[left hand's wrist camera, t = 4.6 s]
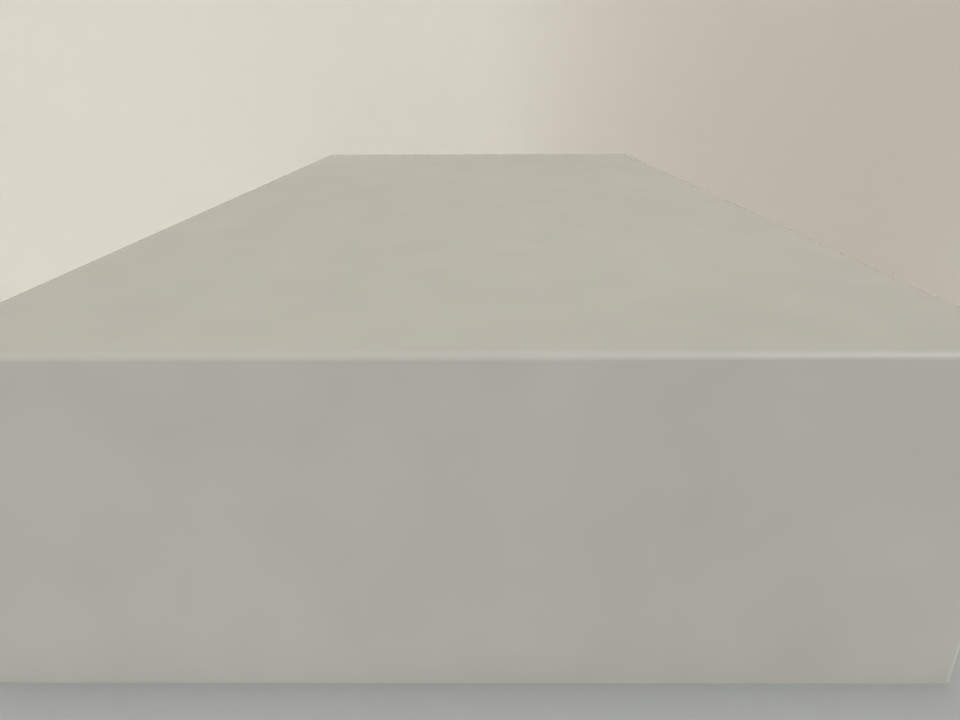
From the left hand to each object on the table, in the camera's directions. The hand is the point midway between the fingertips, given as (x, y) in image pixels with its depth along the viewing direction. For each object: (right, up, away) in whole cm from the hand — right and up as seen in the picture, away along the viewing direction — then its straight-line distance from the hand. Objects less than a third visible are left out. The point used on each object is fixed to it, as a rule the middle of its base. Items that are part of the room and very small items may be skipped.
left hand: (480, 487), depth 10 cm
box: (0, -7, +10) cm, 12 cm away
